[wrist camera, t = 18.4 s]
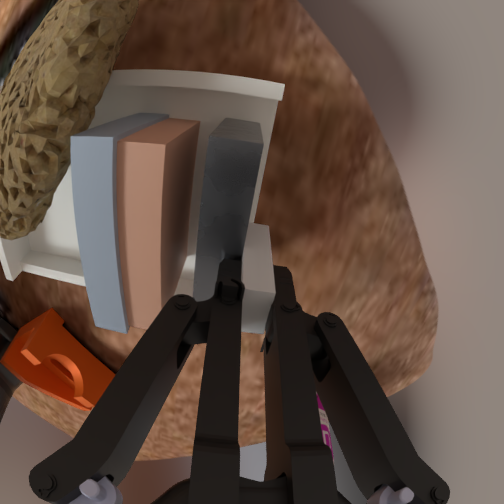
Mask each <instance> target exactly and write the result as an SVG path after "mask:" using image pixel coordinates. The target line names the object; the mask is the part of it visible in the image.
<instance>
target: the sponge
mask: <svg viewBox="0 0 504 504" xmlns="http://www.w3.org/2000/svg"><path fill="white" fill-rule="evenodd" d="M137 8H138V0H59V1H58V2H57V3H56V4H55V5H54V7H53V8H52V9H51V10H50V11H49V13H48V14H47V15H46V17H45V18H44V19H43V21H42V22H41V24H40V26H39V27H38V28H37V29H36V31H35V32H34V33H33V34H32V36H31V37H30V38H29V40H28V42H27V43H26V45H25V46H24V48H23V50H22V51H21V53H20V55H19V56H18V58H17V60H16V62H15V64H14V66H13V68H12V70H11V72H10V73H9V74H8V76H7V77H6V79H5V81H4V85H3V87H2V90H1V92H0V238H3V239H7V240H14V239H18V238H21V237H24V236H27V235H28V234H29V233H30V232H32V231H35V230H36V228H37V226H38V225H39V223H42V222H43V220H44V217H45V215H46V212H47V210H48V209H49V208H50V206H51V204H52V201H53V196H54V193H55V192H56V189H57V187H58V186H59V184H60V182H61V181H62V179H63V178H64V176H65V174H66V173H67V170H68V167H69V166H70V164H71V136H73V135H75V134H78V133H80V132H83V131H85V130H88V128H89V126H90V124H91V122H92V120H93V118H94V117H95V106H96V105H97V104H98V103H99V101H100V100H101V98H102V95H103V92H104V90H105V88H106V86H107V84H108V82H109V79H110V76H111V74H112V70H113V66H114V63H115V61H116V59H117V56H118V54H119V51H120V48H121V45H122V43H123V40H124V38H125V35H126V33H127V31H128V30H129V28H130V26H131V24H132V22H133V20H134V17H135V14H136V11H137Z"/></svg>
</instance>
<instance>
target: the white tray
mask: <svg viewBox="0 0 504 504" xmlns="http://www.w3.org/2000/svg"><path fill="white" fill-rule="evenodd" d="M2 87H3V86H0V92H1V90H2ZM284 87H285V84H281V83H276V82H271V81H266V80H260V79H254V78H247V77H241V76H233V75H226V74H217V73H207V72H196V71H181V70H153V69H133V70H112V74H111V76H110V79H109V82H108V84H107V86H106V88H105V90H104V92H103V95H102V98H101V100H100V101H99V103H98V104H97V105H96V106H95V117H94V118H93V120H92V122H91V124H90V126H89V128H88V129H91V128H94V127H96V126H99V125H102V124H105V123H108V122H111V121H114V120H117V119H120V118H123V117H127V116H130V115H133V114H137V113H158V114H169V118H175V119H186V120H196V121H200V128H199V135H198V143H197V151H196V159H195V168H194V177H193V187H192V197H191V208H190V220H189V232H188V246H187V258H186V261H185V264H184V267H183V270H182V273H181V276H180V279H179V282H178V285H177V288H176V291H175V294H174V295H177V294H185V295H189V296H191V297H193V284H194V270H195V258H196V246H197V235H198V224H199V214H200V205H201V195H202V187H203V178H204V170H205V162H206V154H207V147H208V140H209V135H210V134H211V133H212V132H213V131H214V130H215V129H216V128H217V127H218V125H219V124H220V123H221V122H222V121H223V120H224V119H225V118H233V119H240V120H246V121H252V122H258V123H260V126H261V132H262V137H263V142H264V146H263V151H262V156H261V161H260V167H259V172H258V177H257V182H256V187H255V193H254V198H253V203H252V208H251V213H250V219H249V222H250V223H254V219H255V214H256V209H257V204H258V199H259V194H260V189H261V184H262V179H263V174H264V169H265V164H266V159H267V154H268V149H269V144H270V139H271V135H272V130H273V125H274V120H275V115H276V110H277V105H278V100H280V101H282V97H283V92H284ZM0 261H1V264H2V267H3V270H4V273H5V276H6V279H8V280H11V281H14V280H15V278H16V277H17V276H18V275H19V274H20V273H21V272H22V271H25V272H29V273H33V274H37V275H40V276H44V277H48V278H52V279H56V280H60V281H64V282H69V283H73V284H77V285H81V286H86V284H85V279H84V274H83V269H82V263H81V258H80V252H79V245H78V238H77V231H76V223H75V214H74V204H73V192H72V177H71V164H70V166H69V167H68V170H67V173H66V174H65V176H64V178H63V179H62V181H61V182H60V184H59V186H58V187H57V189H56V192H55V193H54V196H53V201H52V204H51V206H50V208H49V209H48V210H47V212H46V215H45V217H44V220H43V222H42V223H39V225H38V226H37V228H36V230H35V231H32V232H30V233H29V234H28V235H27V236H24V237H21V238H18V239H14V240H7V239H3V238H0Z"/></svg>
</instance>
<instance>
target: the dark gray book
mask: <svg viewBox="0 0 504 504" xmlns="http://www.w3.org/2000/svg"><path fill="white" fill-rule="evenodd" d="M263 146H264V142H263V137H262V132H261V126H260V123H258V122H252V121H246V120H240V119H233V118H225V119H224V120H223V121H222V122H221V123H220V124H219V125H218V127H217V128H216V129H215V130H214V131H213V132H212V133H211V134H210V135H209V140H208V147H207V154H206V162H205V170H204V178H203V187H202V195H201V205H200V214H199V224H198V235H197V246H196V258H195V270H194V284H193V298H194V299H195V300H196V302H198V301H205V300H208V299H210V298H211V297H212V296H213V295H214V290H215V283H216V281H217V275H218V269H219V263H220V262H221V261H222V260H223V259H224V258H225V259H231V260H238V261H242V256H243V251H244V245H245V240H246V235H247V229H248V224H249V219H250V213H251V208H252V203H253V198H254V193H255V187H256V182H257V177H258V172H259V167H260V161H261V156H262V151H263Z"/></svg>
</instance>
